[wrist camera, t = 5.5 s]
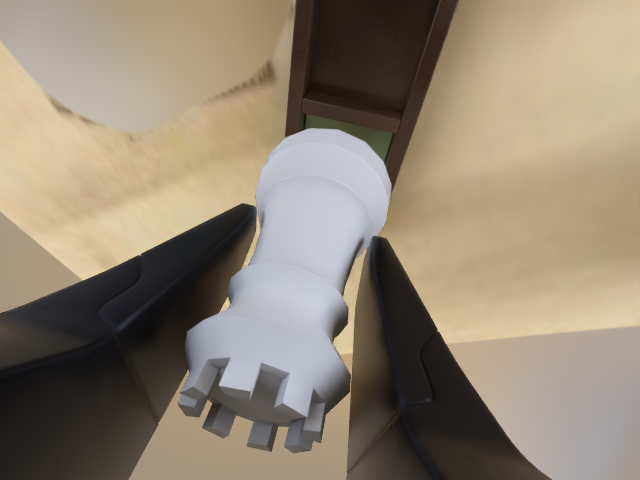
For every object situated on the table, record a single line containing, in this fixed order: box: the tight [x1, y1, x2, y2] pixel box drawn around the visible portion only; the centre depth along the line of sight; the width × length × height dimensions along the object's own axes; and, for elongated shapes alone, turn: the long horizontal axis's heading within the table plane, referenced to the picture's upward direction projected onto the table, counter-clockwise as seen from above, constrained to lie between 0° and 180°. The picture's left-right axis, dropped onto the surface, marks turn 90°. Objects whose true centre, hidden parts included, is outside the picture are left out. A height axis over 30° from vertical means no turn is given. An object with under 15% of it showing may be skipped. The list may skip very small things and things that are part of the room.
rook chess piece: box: [178, 128, 392, 453], centre depth 8 cm, size 4×4×8 cm
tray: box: [285, 0, 459, 196], centre depth 17 cm, size 7×20×2 cm, turn 171°
